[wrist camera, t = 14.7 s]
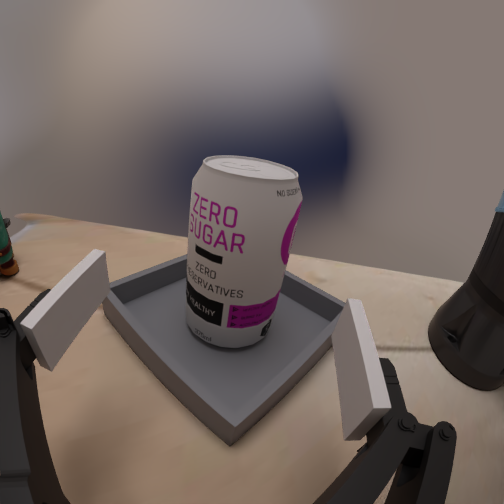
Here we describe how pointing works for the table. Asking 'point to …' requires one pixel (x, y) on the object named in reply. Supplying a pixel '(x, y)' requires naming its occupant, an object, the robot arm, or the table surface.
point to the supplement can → (238, 247)
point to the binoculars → (6, 250)
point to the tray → (221, 358)
